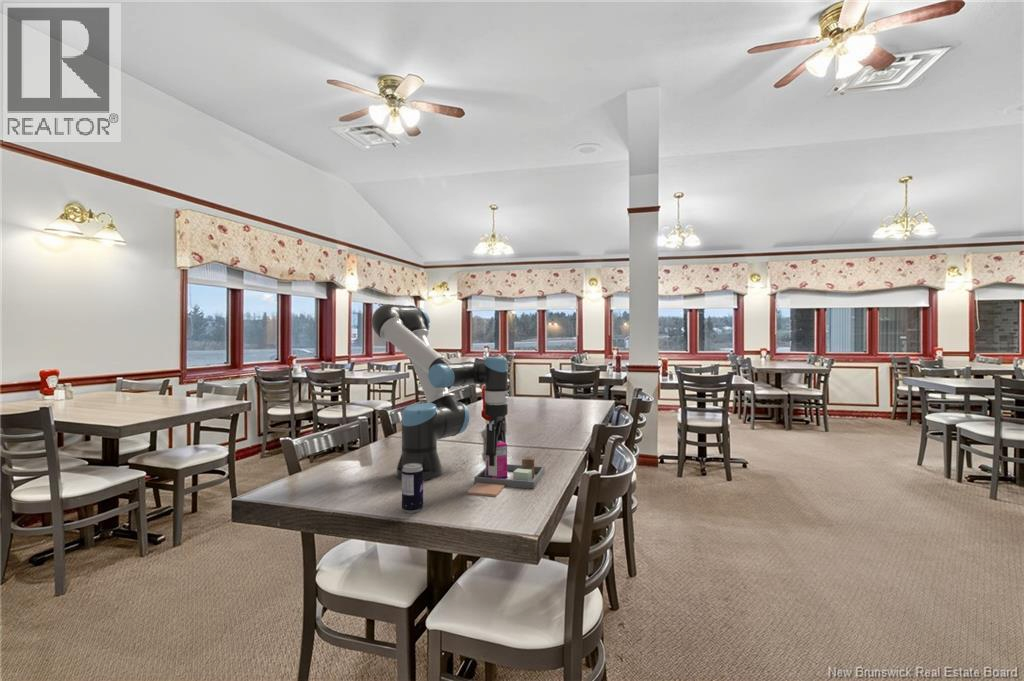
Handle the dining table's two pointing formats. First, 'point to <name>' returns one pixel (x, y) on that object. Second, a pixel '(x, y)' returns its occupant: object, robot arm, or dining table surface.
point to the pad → (486, 489)
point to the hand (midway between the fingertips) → (496, 471)
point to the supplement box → (499, 460)
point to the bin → (509, 482)
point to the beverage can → (412, 487)
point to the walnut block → (528, 463)
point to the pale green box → (522, 474)
